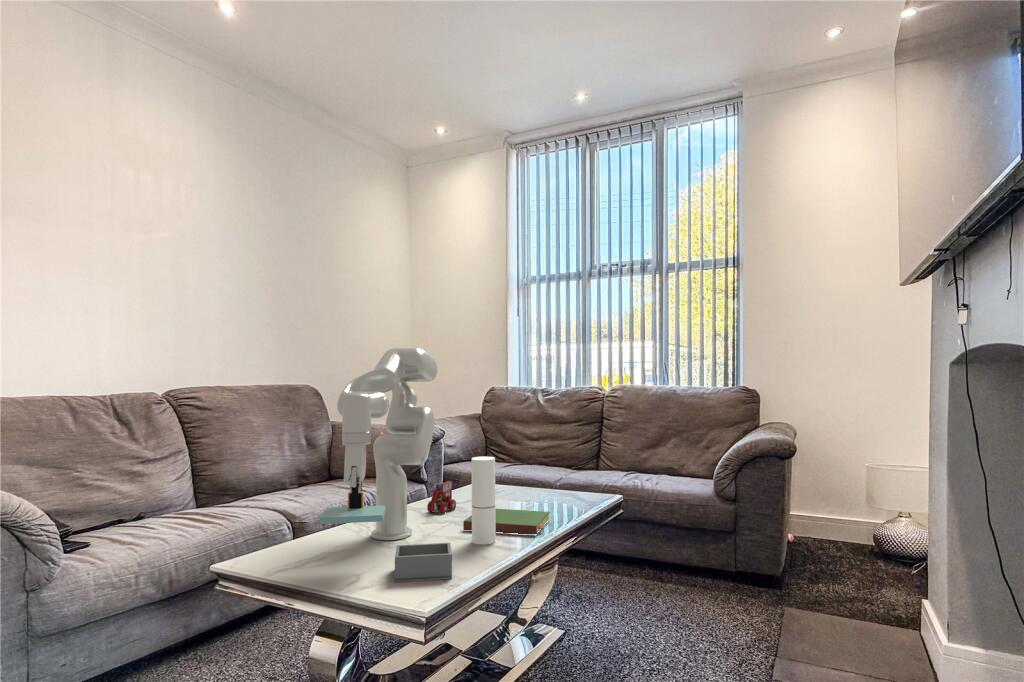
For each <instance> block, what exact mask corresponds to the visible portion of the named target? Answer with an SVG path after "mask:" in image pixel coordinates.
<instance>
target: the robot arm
mask: <svg viewBox="0 0 1024 682" xmlns="http://www.w3.org/2000/svg"><path fill="white" fill-rule="evenodd" d="M437 375H438V364H437V361H436V359H435V358H434V357H433V356H432V355H431V354H430V353H428V352H427V351H426V350H424V349H422V348H418V347H397V348H395V347H394V348H389V349H388V350H386V351H385V353H384V354H383V355H382V356H381V358H380V359H379V361H378V362H377V364H376V365H375V367H374V369H372V370H370V371H368V372H365V373H364V374H362V375H360V376H357V377H355V378H354V379H352V380H351V381H349V382H348V383H347V384H346V386H344V388H343V389H342V391H341V393H340V394H339V397H338V400H337V405H336V408H337V412H338V413H339V415H340V416H341V417H342V426H341V428H342V432H341V434H342V436H341V439H342V440H341V442H342V443H341V444H342V446H345V448H344V449H345V450H344V469H343V482H344V483H345V484H346V483H348V481H349V492H350V493H349V492H348V493H349V508H350V509H357V508H361V507H362V493H361V492H362V491H363V481H364V479H365V477H366V471H367V445H371V443H372V442H371V441H372V439H371V437H372V435H371V433H372V431H371V428H372V420H371V419H379V418H383V417H384V416H385V415H386V414H387V415H386V419H385V430H386V432H387V434H386V433H385V434H381V435H380V436H378V437H377V438H376V439H375V440H374V443H373V446H372V447H373V448H372V449H373V450H372V451H373V457H374V458H373V459H374V463H375V464H374V465H375V476H376V477H375V478H376V479H375V480H376V481H375V483H376V484H375V487H376V489H375V490H376V491H375V493H376V494H375V495H376V497H375V501H376V502H375V506H381V505H386V512H385V515H384V519H383V522H375V523H376V524H375V529H373V530H371V533H370V537H371V538H372V539H375V540H378V541H379V540H380V541H396V540H403V539H406V538H408V537H410V536H411V535H412V534H413V533H412V532H413V530H412V528H410V527H408V479H407V474H406V473H405V471H404V469H403V467H402V466H420V465H423V464H425V463H426V462H427V460H428V458H429V453H430V449H431V444H432V440H433V434H434V430H435V424H436V423H435V421H436V420H435V419H436V418H435V413H434V411H433V410H432V408H430V407H428V406H418V405H417V403H418V396H417V394H416V392H415V390H414V389H413V388H412V387H411V386H410V385H409V383H414V382H415V383H420V382H421V383H426V382H427V383H428V382H433V381H434V380H435V379H436V377H437ZM408 382H409V383H408ZM390 391H391V395H392V396H391V401H389V398H388V396H387V395H386V393H388V392H390Z"/></svg>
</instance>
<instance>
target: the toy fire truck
mask: <svg viewBox="0 0 1024 682" xmlns="http://www.w3.org/2000/svg"><path fill="white" fill-rule="evenodd" d="M452 491H453V481H452V480H447V481H445V482H442V483H437V484H436V486H435V489H434V490H433V492H432V496H431V500H430V501H429V502H428V503H427V505H426V510H427V511H428V512H429V513H433V512H432V511H434V512H437V511H438V512H439V513H440V514H442V513H445V512H448V511H450V510H453V509H454V510H455V509H456V506H457V502H456V500H455V499H453V498H452V496H453V495H452ZM454 510H453V511H454Z"/></svg>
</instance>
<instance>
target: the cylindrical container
mask: <svg viewBox="0 0 1024 682" xmlns="http://www.w3.org/2000/svg"><path fill="white" fill-rule="evenodd" d="M495 509H496V458H495V457H494V456H475V457H472V458H471V515H472V532H471V543H472V542H473V543H476V544H490V543H493V542H495V541H496V538H497V537H496V527H495ZM473 543H472V544H473ZM495 543H496V542H495ZM476 544H475V545H476ZM493 544H494V543H493ZM490 545H491V544H490Z"/></svg>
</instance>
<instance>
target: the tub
mask: <svg viewBox="0 0 1024 682" xmlns="http://www.w3.org/2000/svg"><path fill="white" fill-rule="evenodd" d="M452 560H453V552H452V546H451V542H436V543H435V542H434V543H420V544H419V543H418V544H417V543H415V544H401V545H400V544H399V545H398V544H397V545H396V548H395V553H394V583H404V582H406V583H407V582H417V581H421V582H423V581H434V580H436V579H440V580H451V579H450V578H452V579H453V564H452V563H453V561H452Z"/></svg>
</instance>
